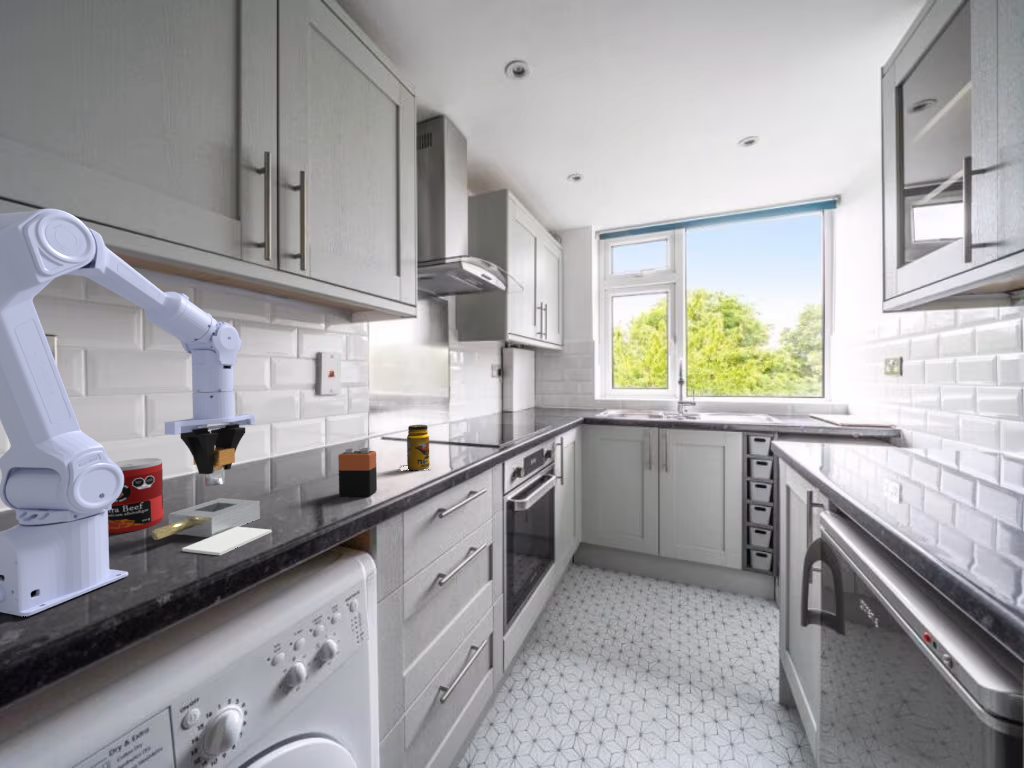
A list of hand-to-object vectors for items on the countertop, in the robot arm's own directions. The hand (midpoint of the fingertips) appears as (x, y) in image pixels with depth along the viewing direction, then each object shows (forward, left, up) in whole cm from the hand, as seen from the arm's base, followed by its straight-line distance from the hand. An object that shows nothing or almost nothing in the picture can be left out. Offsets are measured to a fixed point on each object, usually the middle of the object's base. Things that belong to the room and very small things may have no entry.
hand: (215, 471), depth 70 cm
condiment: (+48, -12, -10) cm, 51 cm away
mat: (-5, -8, -9) cm, 14 cm away
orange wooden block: (0, 0, -2) cm, 2 cm away
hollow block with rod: (-2, 0, -9) cm, 10 cm away
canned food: (-3, +15, -10) cm, 18 cm away
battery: (+22, -12, -10) cm, 27 cm away
